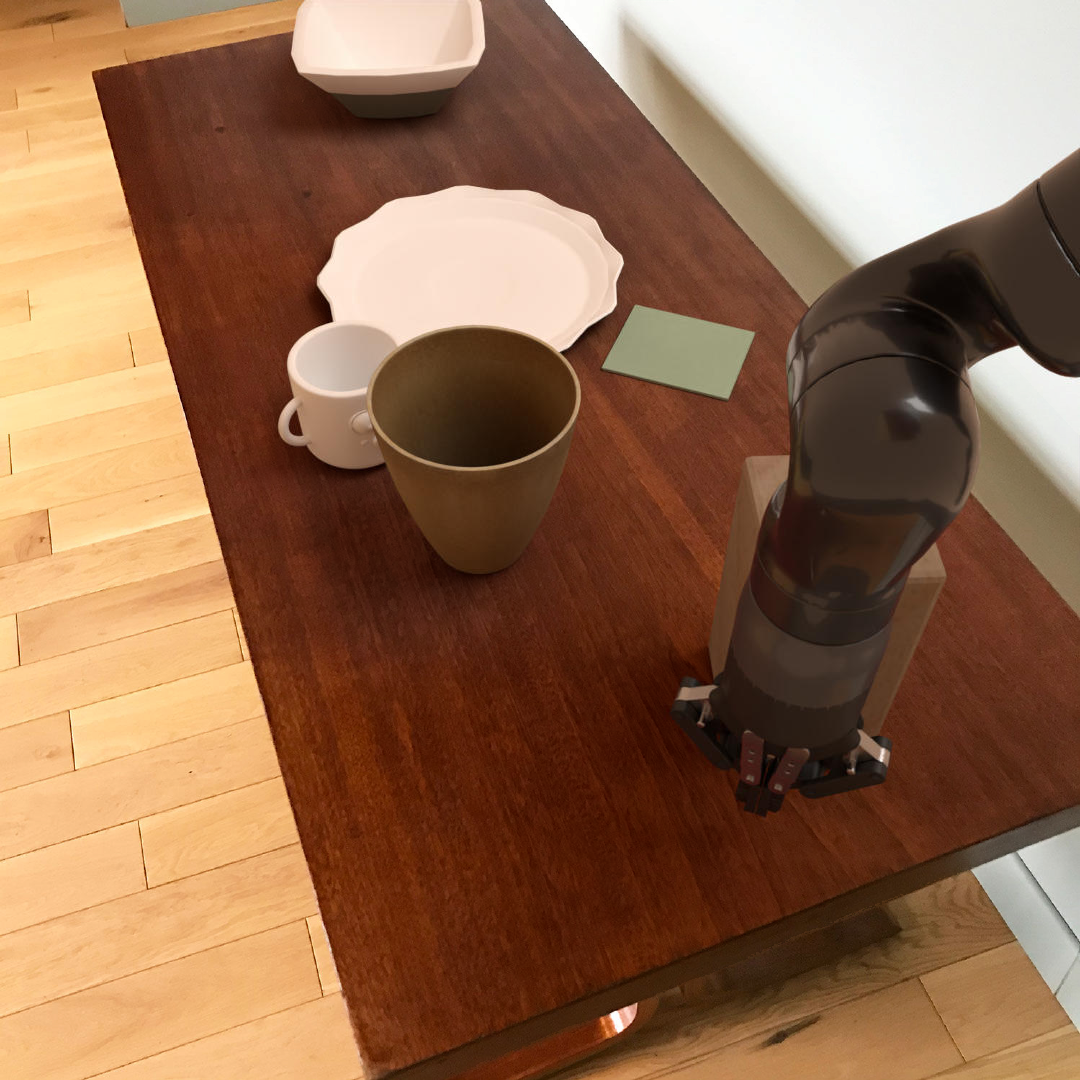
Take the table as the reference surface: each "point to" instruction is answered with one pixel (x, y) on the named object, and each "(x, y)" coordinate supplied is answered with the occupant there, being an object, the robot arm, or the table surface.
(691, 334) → the mat
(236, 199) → the table surface
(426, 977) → the table surface
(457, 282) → the plate
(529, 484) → the plant pot
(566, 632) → the table surface
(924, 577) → the wooden block
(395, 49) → the bowl
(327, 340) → the mug
